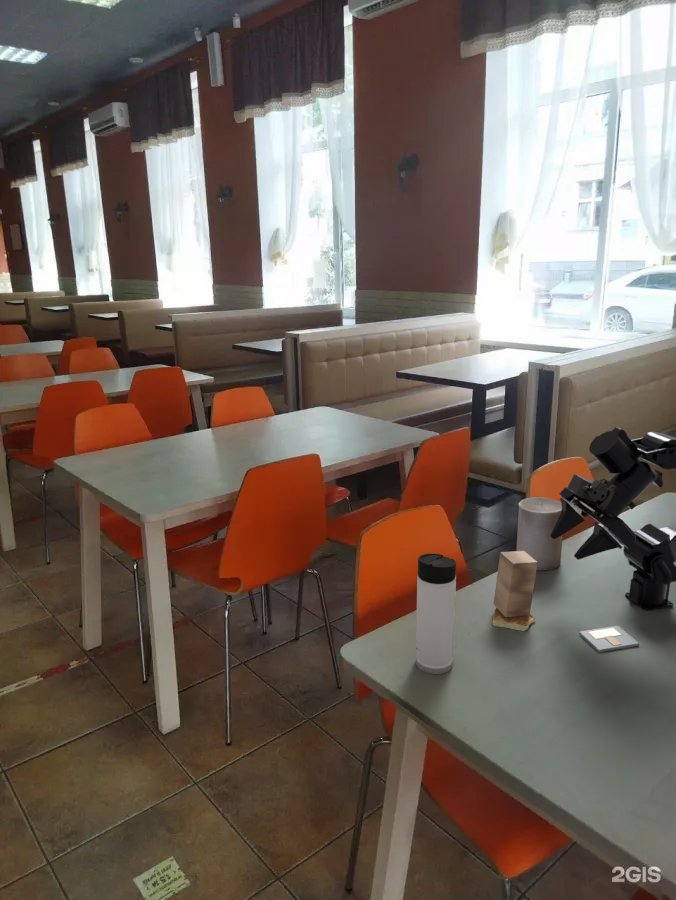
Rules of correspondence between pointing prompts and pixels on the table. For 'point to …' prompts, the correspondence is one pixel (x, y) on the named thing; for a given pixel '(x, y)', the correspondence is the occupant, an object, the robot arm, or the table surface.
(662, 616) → the table surface
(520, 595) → the walnut block
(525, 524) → the pillar candle
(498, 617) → the shard
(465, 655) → the table surface
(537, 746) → the table surface
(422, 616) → the travel mug
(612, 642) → the card
